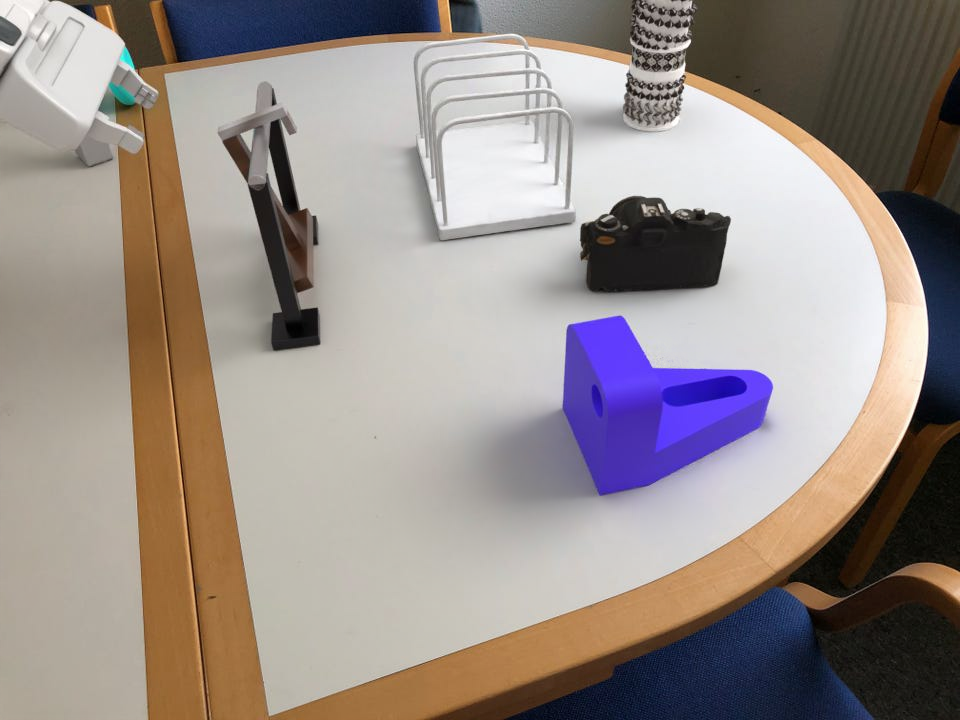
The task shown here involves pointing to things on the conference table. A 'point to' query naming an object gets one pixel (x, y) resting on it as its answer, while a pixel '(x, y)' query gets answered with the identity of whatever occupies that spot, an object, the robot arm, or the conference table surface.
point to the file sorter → (492, 155)
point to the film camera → (653, 246)
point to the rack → (279, 228)
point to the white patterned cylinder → (657, 63)
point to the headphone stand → (293, 225)
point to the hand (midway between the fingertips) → (148, 122)
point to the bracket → (649, 407)
